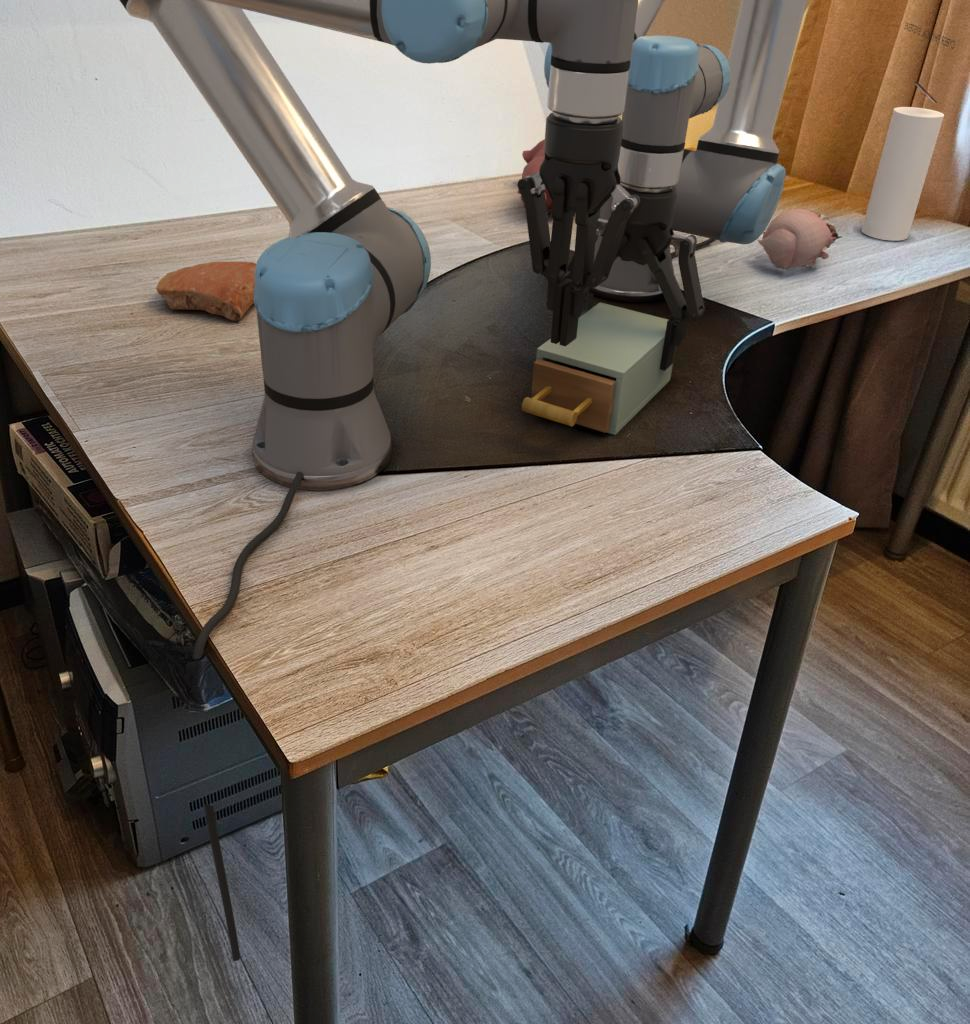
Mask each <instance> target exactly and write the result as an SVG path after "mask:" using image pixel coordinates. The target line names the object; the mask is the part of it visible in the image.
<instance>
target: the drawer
mask: <svg viewBox="0 0 970 1024" xmlns="http://www.w3.org/2000/svg"><path fill="white" fill-rule="evenodd" d="M615 384H616V378H614V377H610V376H607V375H603V374H600V373H596V372H593V371H589V370H586V369H582V368H579V367H575V366H572V365H568V364H565V363H561V362H558V361H554V360H551V359H550V362H547V361H544V360H540V359H538V360H536V359H535V360H534V362H533V368H532V382H531V394H530V397H529V396H526V397H525V398H524V399H523V400H522V403H521V411H522V412H524V413H526V414H531V415H533V416H537V417H540V418H543V419H546V420H549V421H552V422H556V423H558V424H562V425H564V426H568V427H571V428H572V427H574V426H575V425H579V426H581V427H584V428H589V429H591V430H595V431H597V432H602V433H604V434H605V433H607V431H608V430H609V429H610V422H611V414H612V407H613V399H614V392H615Z"/></svg>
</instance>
